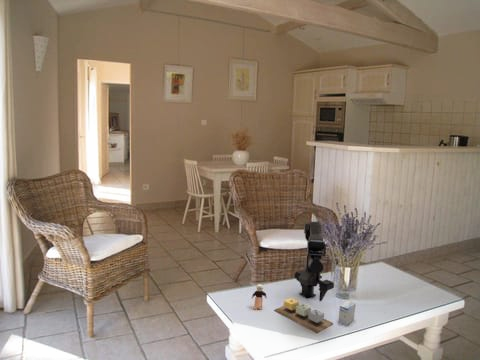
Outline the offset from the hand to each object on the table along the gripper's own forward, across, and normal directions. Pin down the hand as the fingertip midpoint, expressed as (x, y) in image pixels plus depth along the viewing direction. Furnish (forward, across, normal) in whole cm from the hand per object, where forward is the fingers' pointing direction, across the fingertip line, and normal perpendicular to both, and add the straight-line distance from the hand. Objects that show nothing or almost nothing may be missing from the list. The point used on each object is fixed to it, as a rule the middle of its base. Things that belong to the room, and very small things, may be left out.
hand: (312, 297), depth 185 cm
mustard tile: (+10, -13, +1) cm, 16 cm away
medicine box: (+13, +10, +14) cm, 21 cm away
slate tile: (+10, +2, +1) cm, 10 cm away
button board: (+12, -6, +1) cm, 14 cm away
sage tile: (+10, -5, +1) cm, 11 cm away
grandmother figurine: (+13, -25, -10) cm, 29 cm away
